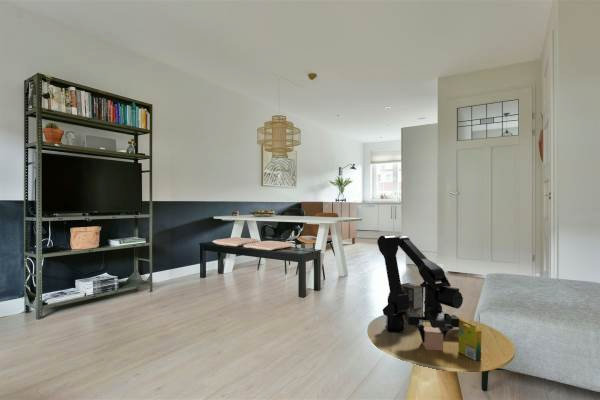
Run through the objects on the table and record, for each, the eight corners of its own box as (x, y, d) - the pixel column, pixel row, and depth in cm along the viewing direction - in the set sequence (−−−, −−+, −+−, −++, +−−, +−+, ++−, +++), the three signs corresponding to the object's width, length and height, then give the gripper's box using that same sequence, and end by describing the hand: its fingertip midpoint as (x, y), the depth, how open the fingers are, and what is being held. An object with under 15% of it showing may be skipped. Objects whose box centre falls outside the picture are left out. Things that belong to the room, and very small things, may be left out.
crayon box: (481, 359, 116) (482, 325, 116) (475, 361, 115) (475, 326, 115) (464, 350, 123) (464, 318, 123) (457, 351, 122) (458, 319, 122)
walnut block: (443, 339, 133) (443, 329, 133) (435, 330, 142) (435, 321, 142) (466, 340, 133) (467, 329, 133) (457, 331, 142) (457, 321, 142)
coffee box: (423, 323, 150) (424, 286, 150) (413, 325, 146) (414, 288, 146) (407, 317, 157) (408, 282, 157) (397, 319, 154) (398, 283, 154)
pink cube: (425, 349, 123) (426, 333, 123) (421, 342, 129) (421, 326, 129) (443, 350, 123) (443, 333, 123) (437, 343, 129) (438, 327, 128)
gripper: (412, 306, 119) (411, 351, 119) (467, 309, 117) (466, 354, 117) (405, 297, 130) (404, 338, 130) (455, 299, 128) (455, 340, 128)
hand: (432, 342), depth 126 cm, fingers closed on pink cube, 6 cm apart
